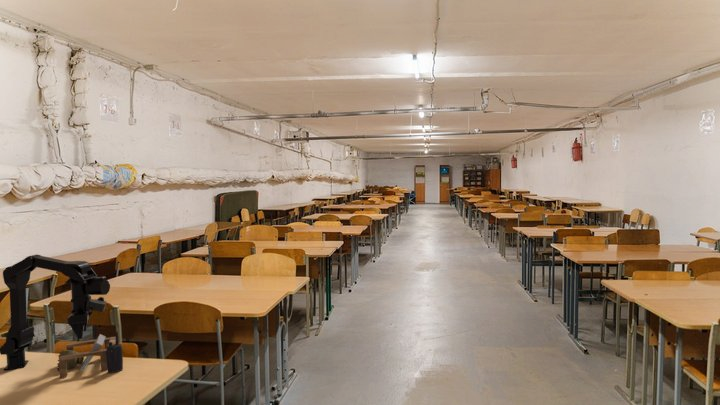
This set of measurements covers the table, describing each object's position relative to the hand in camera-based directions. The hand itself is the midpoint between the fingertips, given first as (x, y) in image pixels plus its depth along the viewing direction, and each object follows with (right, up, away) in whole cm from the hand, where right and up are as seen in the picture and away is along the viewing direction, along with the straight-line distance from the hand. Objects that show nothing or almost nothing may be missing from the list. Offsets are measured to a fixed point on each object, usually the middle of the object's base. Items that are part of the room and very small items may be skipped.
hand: (82, 334), depth 171 cm
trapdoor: (+4, -8, +2) cm, 9 cm away
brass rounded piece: (0, -10, +1) cm, 10 cm away
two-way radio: (+15, -13, -5) cm, 20 cm away
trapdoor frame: (+2, -12, +1) cm, 13 cm away
